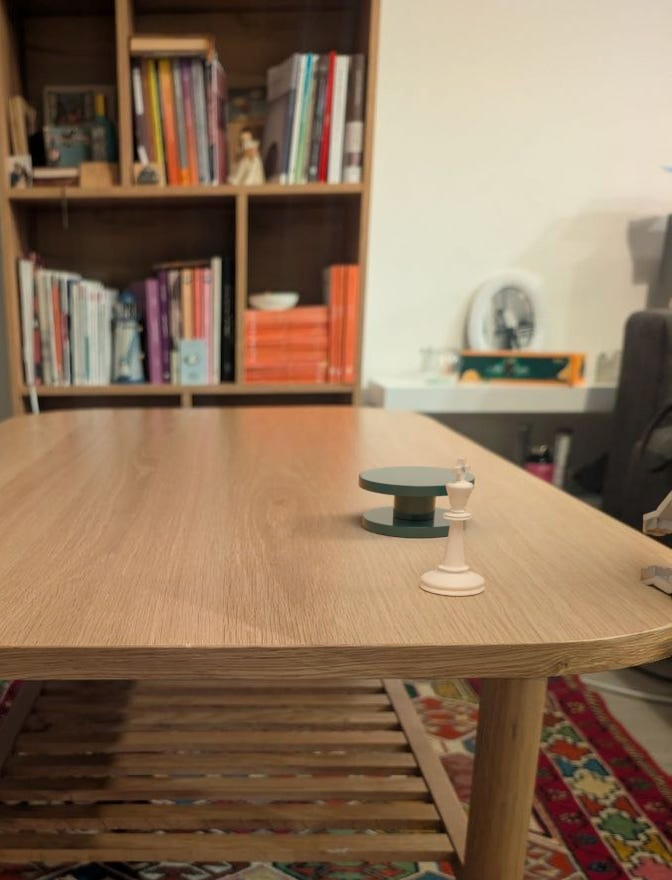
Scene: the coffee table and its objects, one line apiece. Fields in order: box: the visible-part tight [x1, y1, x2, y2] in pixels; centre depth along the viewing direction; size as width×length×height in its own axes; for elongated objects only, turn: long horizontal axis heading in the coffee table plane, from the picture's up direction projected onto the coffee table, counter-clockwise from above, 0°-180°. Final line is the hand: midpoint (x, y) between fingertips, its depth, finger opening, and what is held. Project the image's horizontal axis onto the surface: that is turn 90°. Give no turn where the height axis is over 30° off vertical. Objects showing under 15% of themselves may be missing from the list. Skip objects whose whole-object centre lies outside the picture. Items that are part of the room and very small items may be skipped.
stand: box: [357, 465, 476, 539], centre depth 93 cm, size 11×11×5 cm
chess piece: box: [419, 457, 486, 597], centre depth 72 cm, size 5×5×10 cm
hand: (648, 553), depth 75 cm, fingers open, 3 cm apart
